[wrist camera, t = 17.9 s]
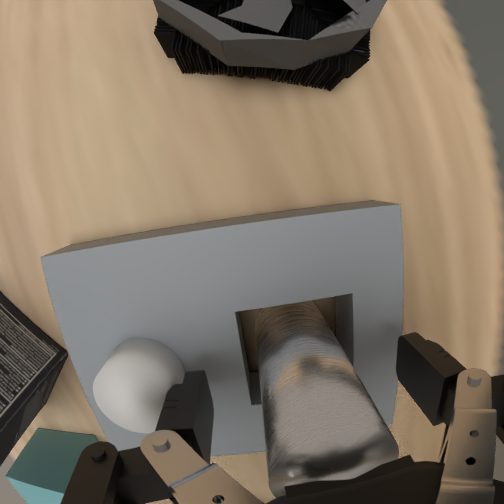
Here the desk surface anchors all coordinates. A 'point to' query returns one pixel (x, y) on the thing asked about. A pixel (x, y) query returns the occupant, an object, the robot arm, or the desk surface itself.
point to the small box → (23, 373)
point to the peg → (314, 402)
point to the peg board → (224, 310)
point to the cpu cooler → (269, 37)
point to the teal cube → (47, 465)
